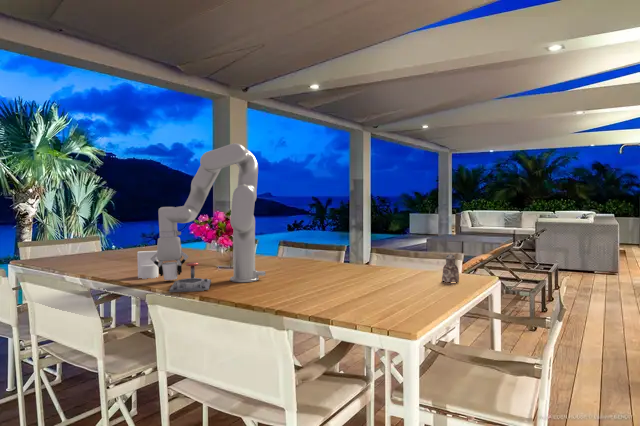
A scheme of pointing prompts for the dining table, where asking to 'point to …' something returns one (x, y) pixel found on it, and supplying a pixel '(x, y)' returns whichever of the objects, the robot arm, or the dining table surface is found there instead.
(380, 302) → the dining table surface
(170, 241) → the robot arm
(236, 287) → the dining table surface
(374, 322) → the dining table surface
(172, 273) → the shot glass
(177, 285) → the valve body
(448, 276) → the figurine
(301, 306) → the dining table surface
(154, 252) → the base with upright slab
